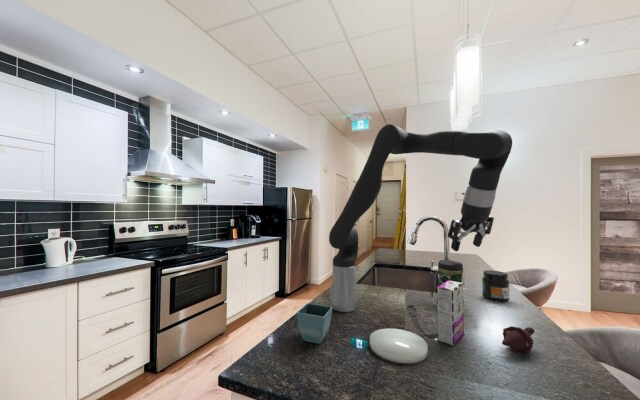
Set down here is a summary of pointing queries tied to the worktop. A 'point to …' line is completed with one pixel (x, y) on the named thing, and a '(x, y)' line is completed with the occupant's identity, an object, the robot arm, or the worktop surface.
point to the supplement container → (495, 286)
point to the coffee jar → (450, 271)
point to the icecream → (518, 339)
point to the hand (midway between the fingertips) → (465, 247)
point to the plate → (398, 345)
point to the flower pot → (314, 322)
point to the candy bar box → (450, 312)
